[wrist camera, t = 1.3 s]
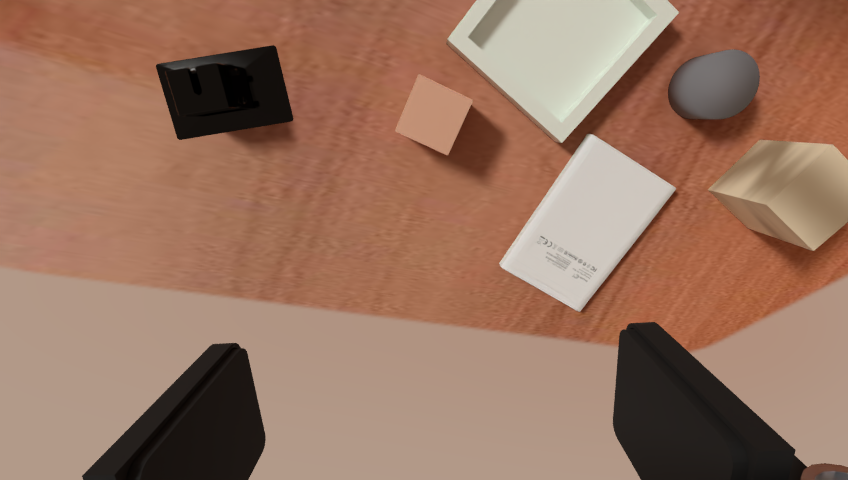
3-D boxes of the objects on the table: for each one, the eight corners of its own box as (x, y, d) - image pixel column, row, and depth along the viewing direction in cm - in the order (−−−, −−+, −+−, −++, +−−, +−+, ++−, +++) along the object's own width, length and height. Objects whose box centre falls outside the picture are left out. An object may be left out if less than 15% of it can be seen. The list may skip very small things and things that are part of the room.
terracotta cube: (420, 79, 31) (418, 73, 27) (468, 102, 31) (473, 100, 27) (399, 129, 32) (394, 131, 28) (446, 151, 32) (447, 155, 28)
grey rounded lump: (701, 42, 29) (730, 34, 26) (741, 83, 30) (773, 79, 27) (655, 92, 30) (678, 90, 28) (694, 131, 31) (720, 132, 28)
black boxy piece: (296, 31, 30) (273, 16, 26) (317, 131, 32) (299, 133, 28) (138, 57, 31) (90, 47, 27) (169, 154, 33) (128, 159, 29)
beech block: (759, 139, 31) (832, 144, 25) (799, 181, 32) (880, 194, 26) (707, 189, 32) (766, 204, 27) (747, 228, 33) (813, 251, 27)
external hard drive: (666, 185, 33) (574, 305, 36) (584, 133, 32) (497, 261, 35) (678, 189, 31) (581, 314, 35) (592, 133, 30) (500, 267, 33)
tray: (552, -97, 27) (560, -112, 25) (664, 18, 29) (679, 12, 27) (446, 43, 30) (447, 39, 28) (554, 141, 31) (561, 143, 30)
